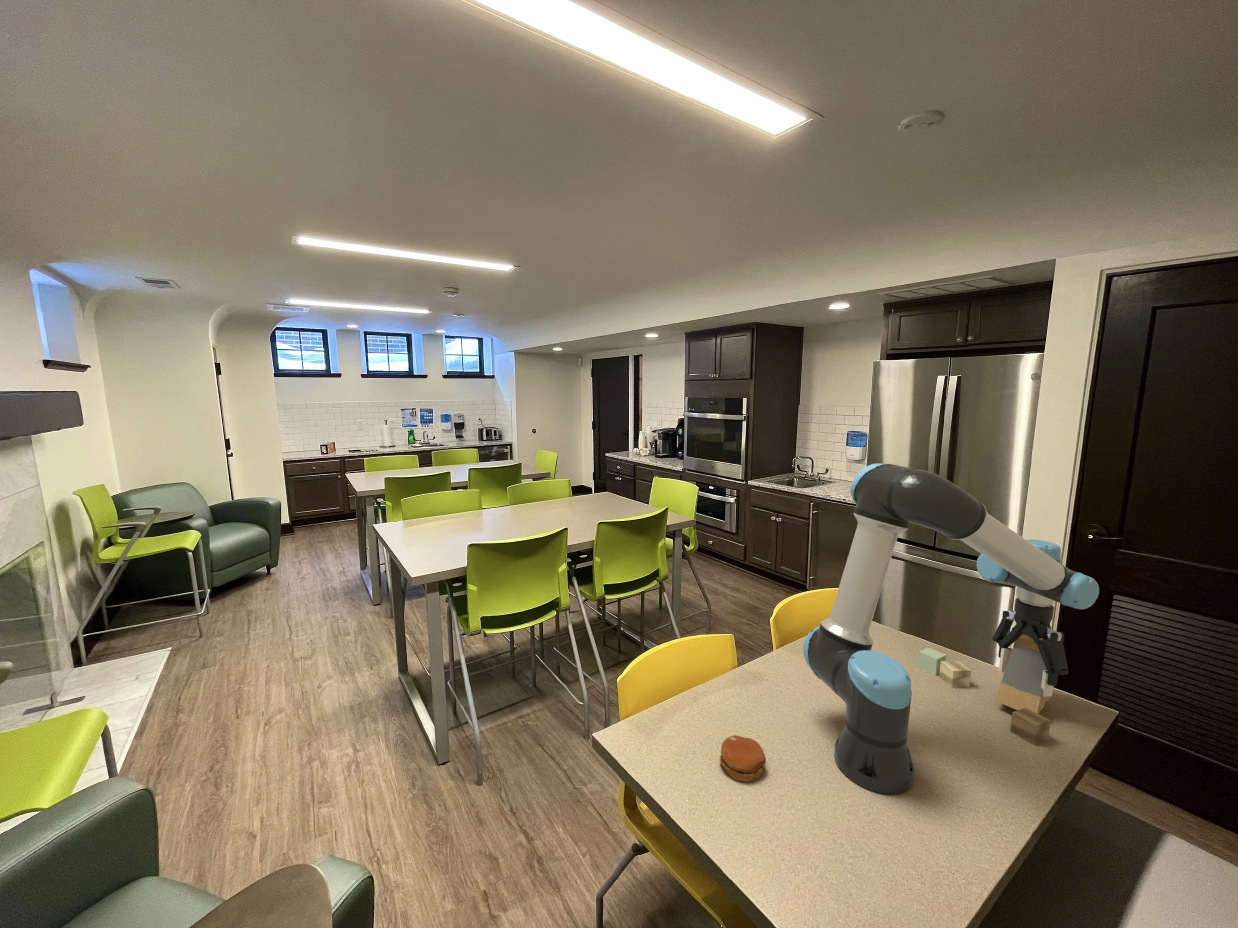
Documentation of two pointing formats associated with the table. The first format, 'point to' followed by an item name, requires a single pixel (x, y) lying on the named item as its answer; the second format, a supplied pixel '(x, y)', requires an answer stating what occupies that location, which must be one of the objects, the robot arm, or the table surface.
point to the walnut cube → (1030, 726)
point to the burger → (742, 758)
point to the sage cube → (930, 660)
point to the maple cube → (955, 674)
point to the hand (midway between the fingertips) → (1024, 682)
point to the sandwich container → (1023, 677)
